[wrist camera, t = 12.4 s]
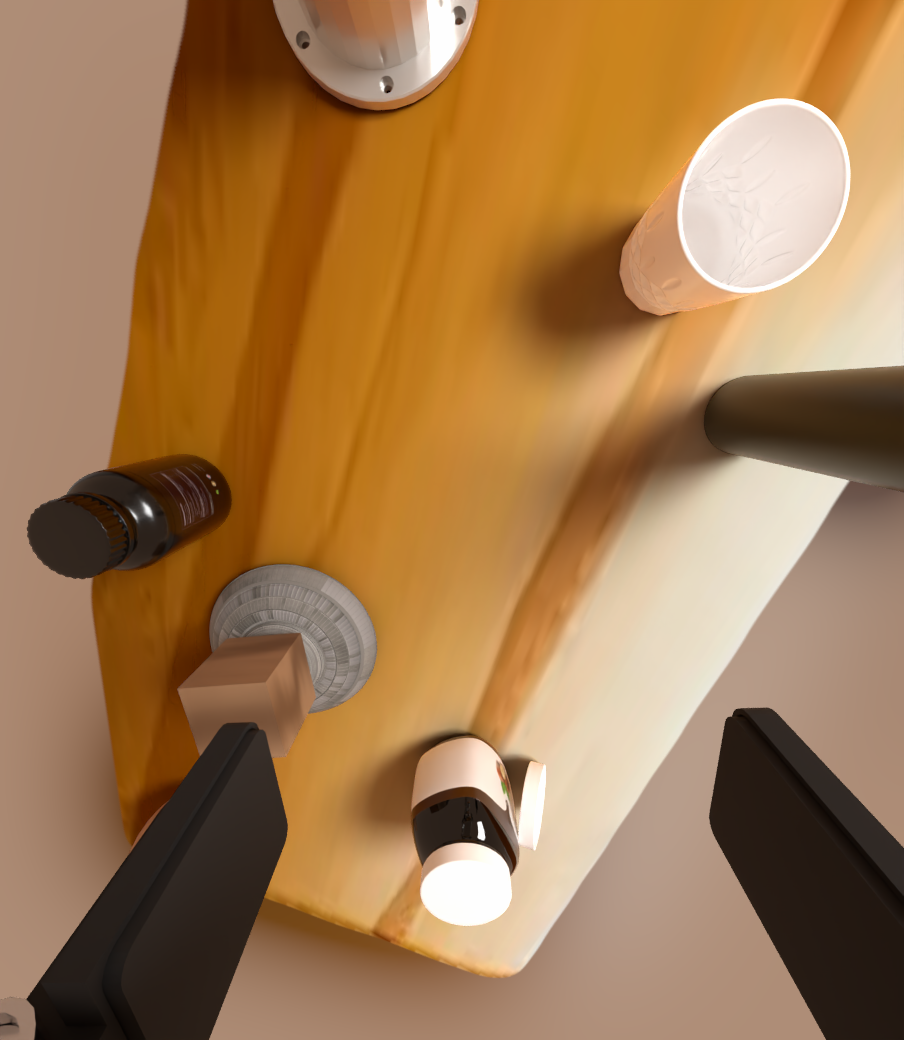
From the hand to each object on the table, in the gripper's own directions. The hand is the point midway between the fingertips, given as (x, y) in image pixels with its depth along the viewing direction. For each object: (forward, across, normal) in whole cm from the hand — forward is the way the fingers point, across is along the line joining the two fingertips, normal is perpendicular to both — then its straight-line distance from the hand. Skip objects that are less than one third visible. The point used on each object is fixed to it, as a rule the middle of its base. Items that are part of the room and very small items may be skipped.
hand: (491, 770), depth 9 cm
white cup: (+28, -14, -15) cm, 34 cm away
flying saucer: (+27, +16, +14) cm, 35 cm away
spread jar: (+27, 0, +29) cm, 39 cm away
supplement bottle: (+27, +23, 0) cm, 36 cm away
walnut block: (+22, +17, +13) cm, 31 cm away
